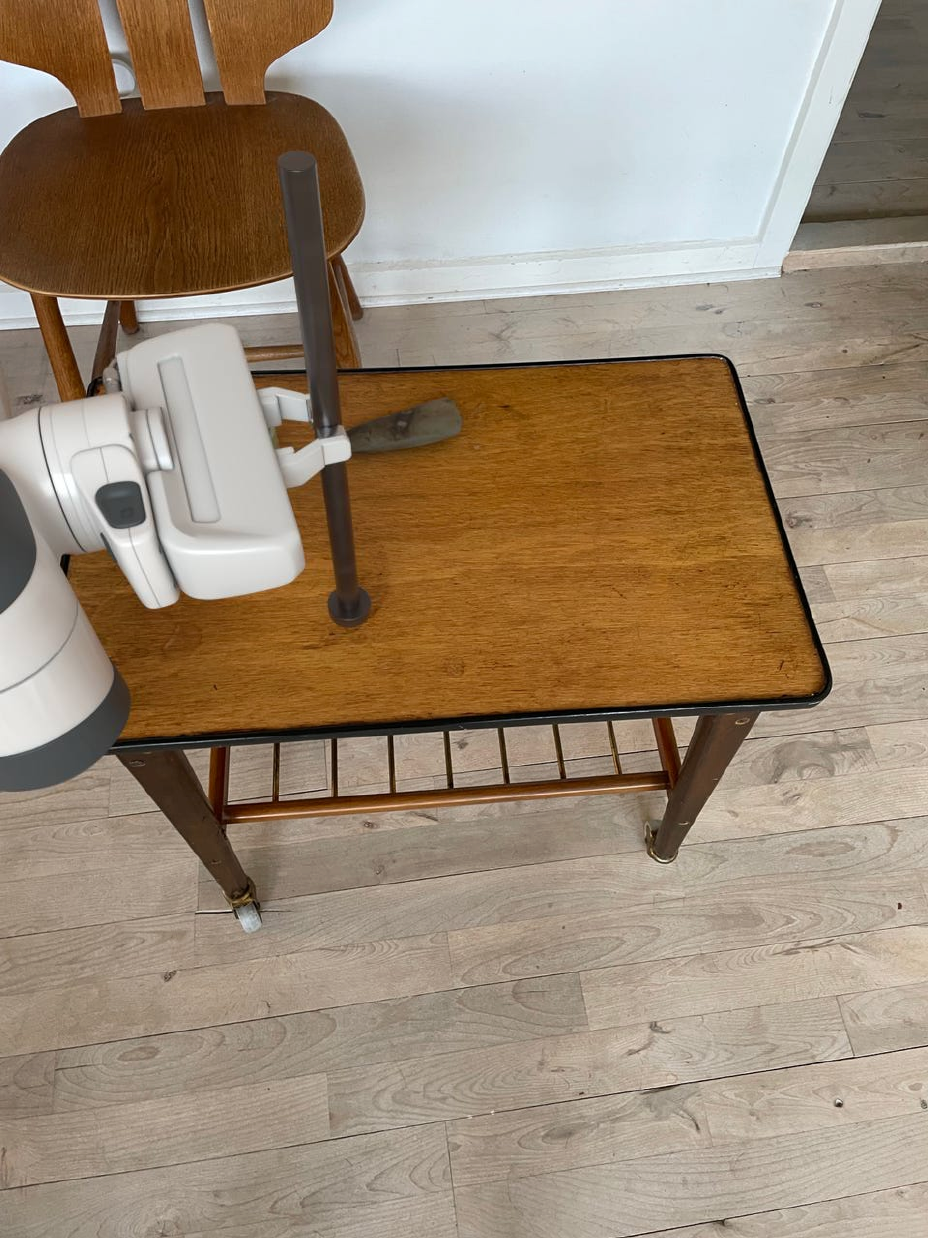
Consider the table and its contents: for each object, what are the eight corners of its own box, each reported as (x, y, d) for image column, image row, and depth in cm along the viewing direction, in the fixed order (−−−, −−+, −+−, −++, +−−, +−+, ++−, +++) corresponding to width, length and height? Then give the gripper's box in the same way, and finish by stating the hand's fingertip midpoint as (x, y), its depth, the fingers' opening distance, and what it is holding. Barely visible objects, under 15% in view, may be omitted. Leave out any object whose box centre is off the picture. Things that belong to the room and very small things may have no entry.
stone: (450, 407, 90) (451, 391, 88) (468, 439, 88) (469, 423, 86) (333, 439, 87) (330, 423, 85) (348, 473, 85) (346, 457, 83)
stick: (319, 615, 71) (241, 164, 39) (344, 585, 73) (289, 131, 41) (355, 634, 70) (304, 190, 38) (379, 604, 72) (350, 155, 40)
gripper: (113, 394, 59) (308, 358, 62) (155, 633, 49) (387, 575, 52) (83, 318, 54) (298, 282, 57) (123, 568, 43) (384, 507, 46)
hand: (341, 424), depth 54 cm, fingers closed on stick, 2 cm apart
